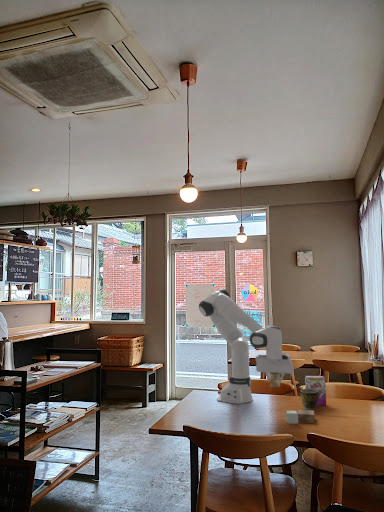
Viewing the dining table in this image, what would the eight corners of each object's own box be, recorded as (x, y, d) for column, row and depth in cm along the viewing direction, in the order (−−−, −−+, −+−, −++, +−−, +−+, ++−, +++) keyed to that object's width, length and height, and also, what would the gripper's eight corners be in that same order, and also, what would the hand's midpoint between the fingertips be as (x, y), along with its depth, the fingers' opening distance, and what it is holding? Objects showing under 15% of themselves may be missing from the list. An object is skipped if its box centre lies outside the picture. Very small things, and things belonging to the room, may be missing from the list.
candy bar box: (307, 405, 226) (306, 377, 228) (305, 403, 231) (304, 375, 233) (326, 406, 225) (325, 377, 227) (324, 403, 230) (323, 375, 232)
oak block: (269, 386, 209) (269, 373, 210) (270, 384, 214) (270, 371, 215) (279, 387, 208) (278, 374, 209) (279, 385, 213) (279, 372, 213)
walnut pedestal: (298, 421, 197) (297, 413, 197) (298, 417, 204) (298, 409, 205) (314, 423, 194) (314, 414, 195) (314, 418, 202) (314, 410, 202)
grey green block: (288, 423, 194) (287, 413, 195) (286, 420, 199) (285, 410, 200) (298, 423, 194) (297, 413, 195) (296, 420, 199) (295, 410, 200)
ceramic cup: (304, 405, 227) (303, 388, 228) (321, 408, 221) (320, 390, 223) (296, 410, 217) (295, 392, 218) (314, 413, 211) (313, 394, 212)
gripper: (254, 355, 213) (255, 380, 211) (292, 356, 207) (293, 383, 205) (256, 353, 219) (256, 378, 217) (293, 355, 213) (293, 380, 211)
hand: (274, 380), depth 211 cm, fingers closed on oak block, 5 cm apart
